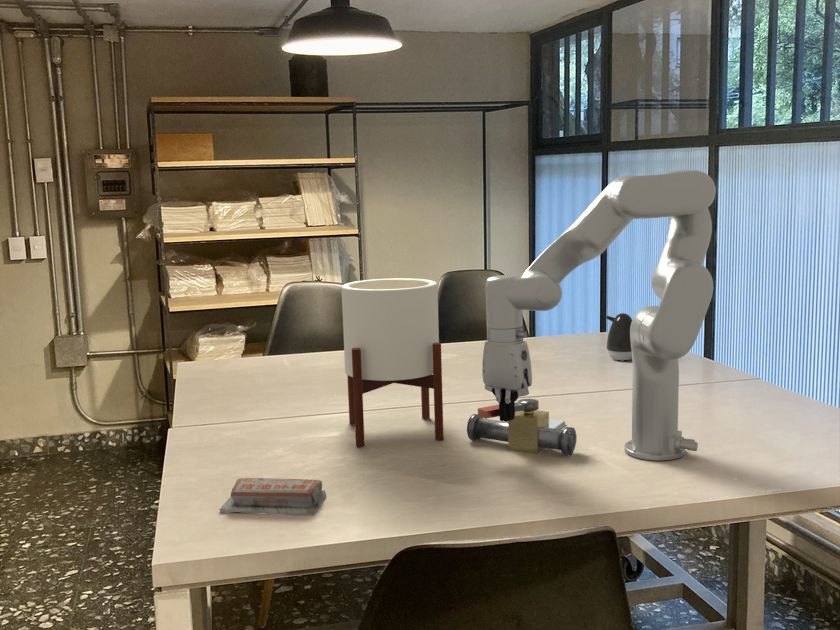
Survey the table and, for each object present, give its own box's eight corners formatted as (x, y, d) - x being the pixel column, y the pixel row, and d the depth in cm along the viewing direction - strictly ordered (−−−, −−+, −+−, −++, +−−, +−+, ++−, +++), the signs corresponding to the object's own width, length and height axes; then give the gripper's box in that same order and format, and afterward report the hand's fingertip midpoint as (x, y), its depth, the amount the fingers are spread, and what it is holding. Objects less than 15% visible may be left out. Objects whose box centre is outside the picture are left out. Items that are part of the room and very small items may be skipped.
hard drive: (533, 416, 210) (512, 430, 199) (565, 420, 206) (545, 434, 195) (533, 423, 210) (512, 436, 200) (565, 427, 206) (545, 441, 195)
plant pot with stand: (449, 441, 195) (445, 287, 190) (352, 449, 192) (345, 292, 186) (432, 415, 217) (428, 276, 212) (344, 422, 214) (338, 280, 208)
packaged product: (326, 473, 163) (312, 492, 154) (327, 498, 164) (313, 518, 154) (236, 471, 166) (217, 490, 156) (238, 495, 167) (219, 515, 157)
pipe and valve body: (576, 450, 186) (576, 411, 184) (565, 458, 181) (565, 418, 180) (479, 436, 199) (479, 399, 197) (467, 443, 194) (466, 405, 192)
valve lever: (530, 404, 190) (530, 397, 190) (542, 409, 186) (542, 401, 186) (476, 414, 184) (476, 407, 183) (487, 419, 180) (487, 412, 179)
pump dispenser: (604, 356, 282) (605, 310, 279) (637, 356, 280) (637, 310, 278) (607, 362, 272) (607, 315, 269) (640, 362, 270) (641, 315, 268)
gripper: (545, 335, 176) (546, 421, 178) (487, 329, 185) (489, 410, 188) (524, 341, 170) (526, 430, 173) (465, 334, 180) (468, 418, 183)
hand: (507, 419), depth 181 cm, fingers closed
